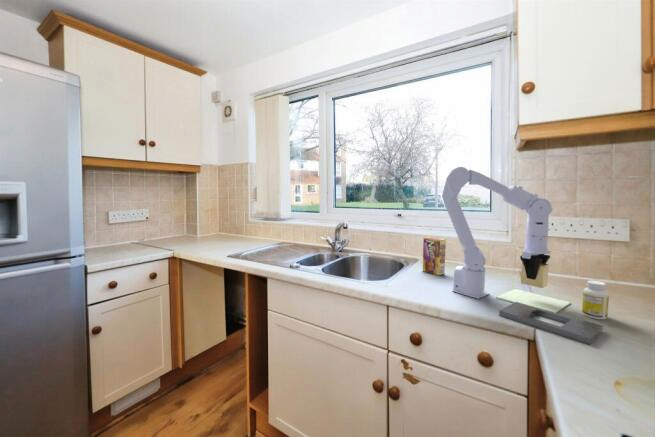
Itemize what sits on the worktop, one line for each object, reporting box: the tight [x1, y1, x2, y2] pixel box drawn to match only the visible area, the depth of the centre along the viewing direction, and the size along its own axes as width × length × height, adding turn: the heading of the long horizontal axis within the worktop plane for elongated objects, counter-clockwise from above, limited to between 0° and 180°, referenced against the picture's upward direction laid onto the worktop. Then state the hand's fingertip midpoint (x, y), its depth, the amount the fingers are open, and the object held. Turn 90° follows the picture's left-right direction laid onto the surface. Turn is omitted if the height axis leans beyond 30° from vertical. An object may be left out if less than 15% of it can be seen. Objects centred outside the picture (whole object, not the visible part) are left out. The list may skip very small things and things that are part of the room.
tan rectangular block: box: [520, 261, 550, 289], centre depth 94 cm, size 6×4×7 cm, turn 35°
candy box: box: [422, 236, 447, 276], centre depth 128 cm, size 9×4×15 cm, turn 32°
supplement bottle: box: [581, 280, 610, 320], centre depth 83 cm, size 5×5×10 cm
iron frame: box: [498, 302, 604, 346], centre depth 79 cm, size 20×11×2 cm, turn 35°
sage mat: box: [496, 288, 572, 313], centre depth 95 cm, size 16×14×1 cm
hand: (533, 277), depth 94 cm, fingers closed on tan rectangular block, 4 cm apart
